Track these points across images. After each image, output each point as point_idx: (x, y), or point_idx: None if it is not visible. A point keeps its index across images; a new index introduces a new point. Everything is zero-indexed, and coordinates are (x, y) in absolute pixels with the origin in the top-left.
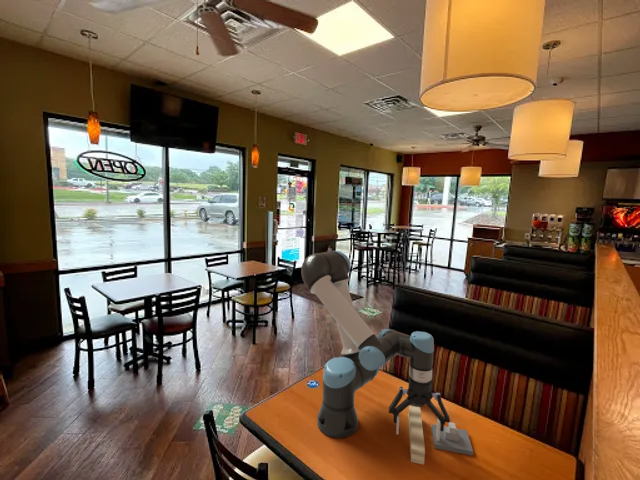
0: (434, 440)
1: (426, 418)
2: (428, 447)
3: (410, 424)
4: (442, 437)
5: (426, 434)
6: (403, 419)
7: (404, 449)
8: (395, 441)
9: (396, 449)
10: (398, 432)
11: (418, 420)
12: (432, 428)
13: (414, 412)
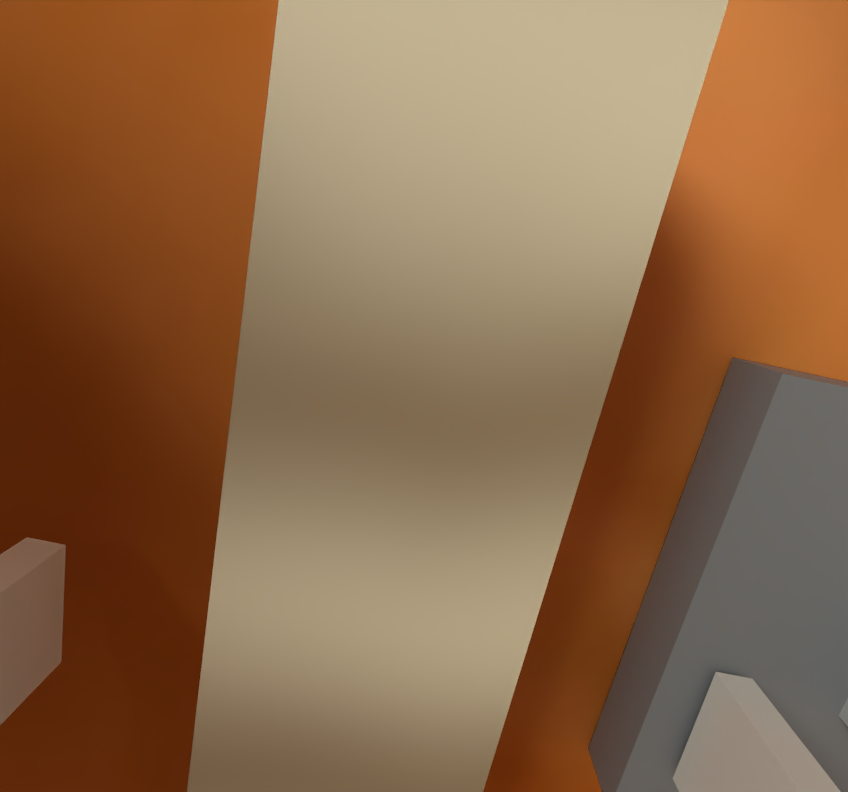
0: (635, 752)
1: (759, 68)
2: (509, 738)
3: (193, 770)
4: (807, 691)
5: (574, 515)
6: (245, 143)
7: (176, 777)
8: (63, 666)
9: (73, 781)
10: (30, 692)
11: (442, 639)
12: (735, 495)
13: (419, 285)
